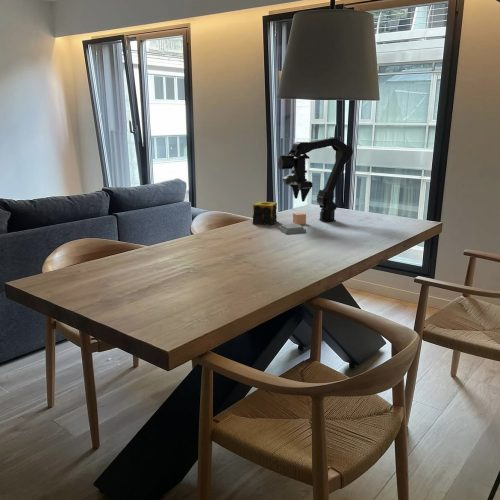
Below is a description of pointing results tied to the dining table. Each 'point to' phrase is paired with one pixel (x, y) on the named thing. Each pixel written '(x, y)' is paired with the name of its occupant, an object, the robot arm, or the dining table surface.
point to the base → (291, 228)
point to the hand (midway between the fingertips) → (299, 200)
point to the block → (299, 218)
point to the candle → (264, 213)
